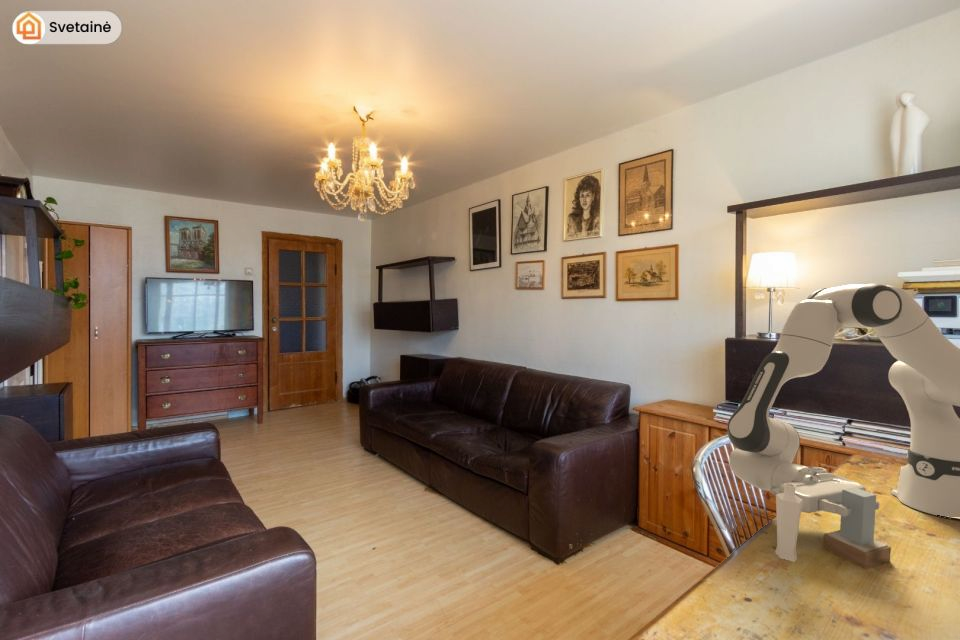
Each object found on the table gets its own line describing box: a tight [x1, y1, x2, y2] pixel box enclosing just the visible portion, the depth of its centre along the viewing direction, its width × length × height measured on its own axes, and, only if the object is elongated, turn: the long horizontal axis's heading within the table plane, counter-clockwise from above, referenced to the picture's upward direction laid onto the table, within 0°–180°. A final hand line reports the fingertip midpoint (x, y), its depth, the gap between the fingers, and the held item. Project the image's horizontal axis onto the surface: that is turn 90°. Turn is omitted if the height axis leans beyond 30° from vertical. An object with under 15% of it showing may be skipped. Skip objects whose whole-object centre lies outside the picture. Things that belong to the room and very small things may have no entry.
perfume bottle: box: [774, 483, 802, 563], centre depth 93 cm, size 5×4×15 cm
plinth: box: [822, 529, 892, 569], centre depth 95 cm, size 8×8×3 cm
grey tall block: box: [839, 487, 877, 545], centre depth 95 cm, size 4×4×10 cm
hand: (863, 509), depth 94 cm, fingers open, 8 cm apart
